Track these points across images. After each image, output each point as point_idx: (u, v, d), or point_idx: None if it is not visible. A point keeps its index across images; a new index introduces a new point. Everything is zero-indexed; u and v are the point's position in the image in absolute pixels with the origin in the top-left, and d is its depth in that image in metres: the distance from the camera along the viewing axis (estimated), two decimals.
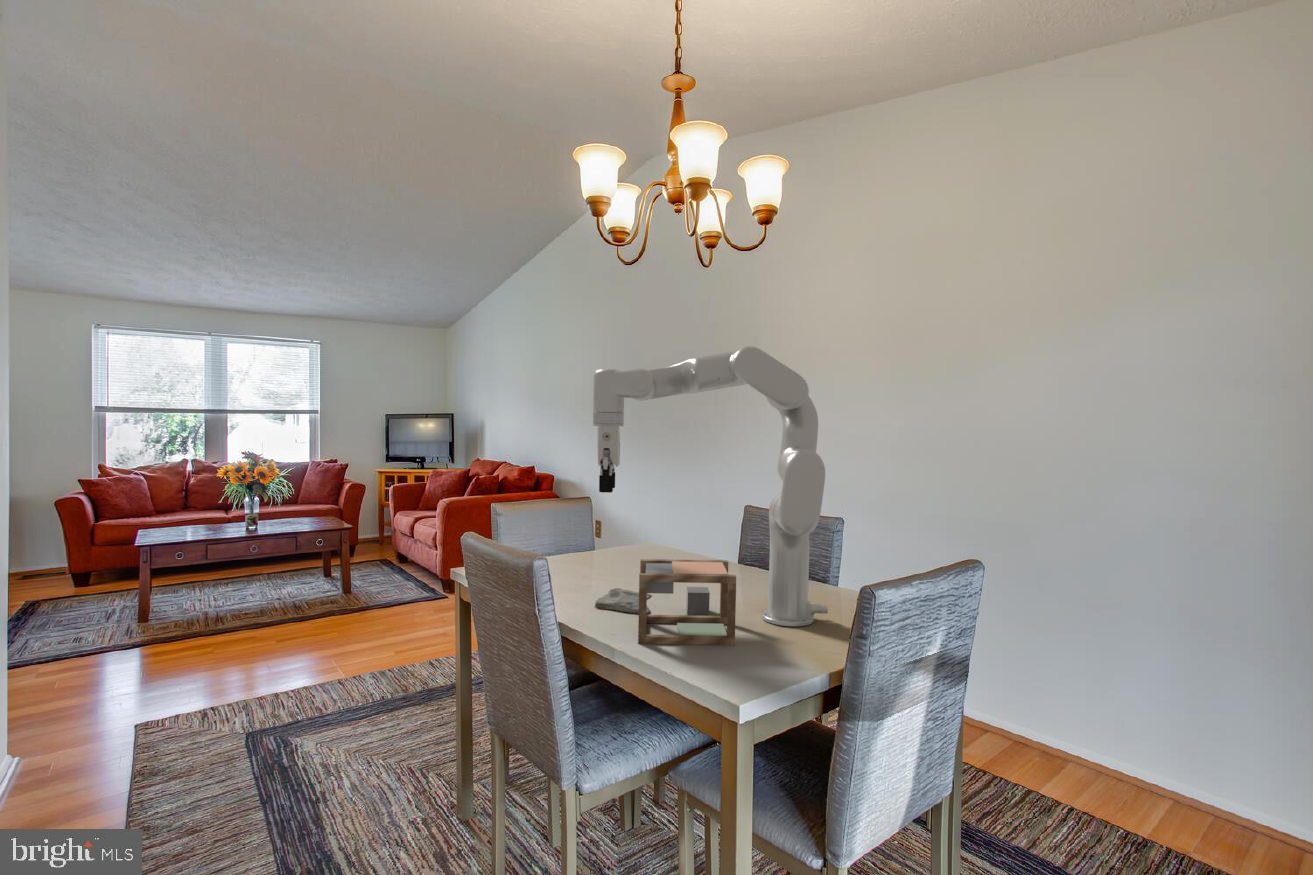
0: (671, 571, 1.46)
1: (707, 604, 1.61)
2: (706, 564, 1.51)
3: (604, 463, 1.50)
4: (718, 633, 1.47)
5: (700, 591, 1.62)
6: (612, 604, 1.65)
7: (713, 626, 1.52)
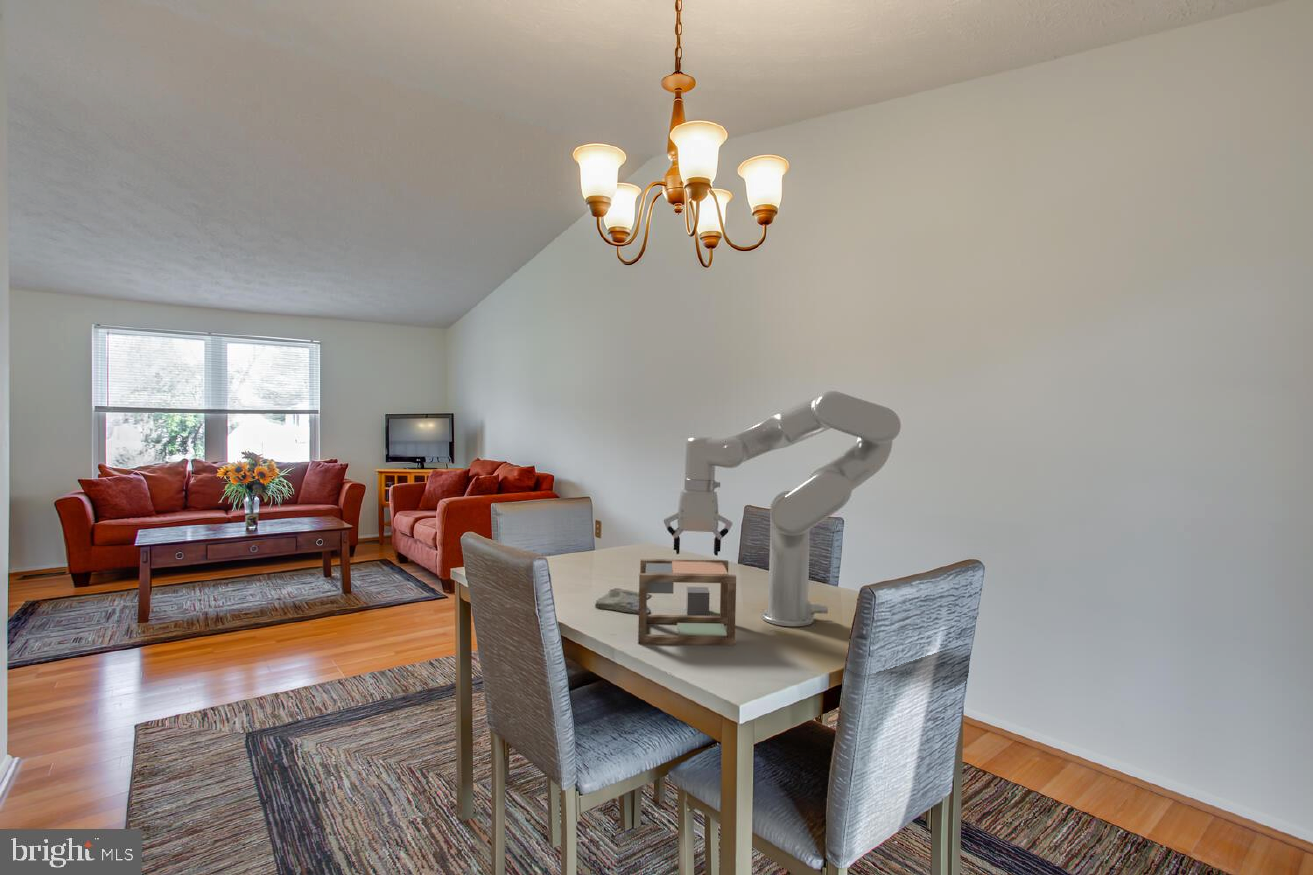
0: (671, 571, 1.46)
1: (707, 604, 1.61)
2: (706, 564, 1.51)
3: None
4: (718, 633, 1.47)
5: (700, 591, 1.62)
6: (612, 604, 1.65)
7: (713, 626, 1.52)
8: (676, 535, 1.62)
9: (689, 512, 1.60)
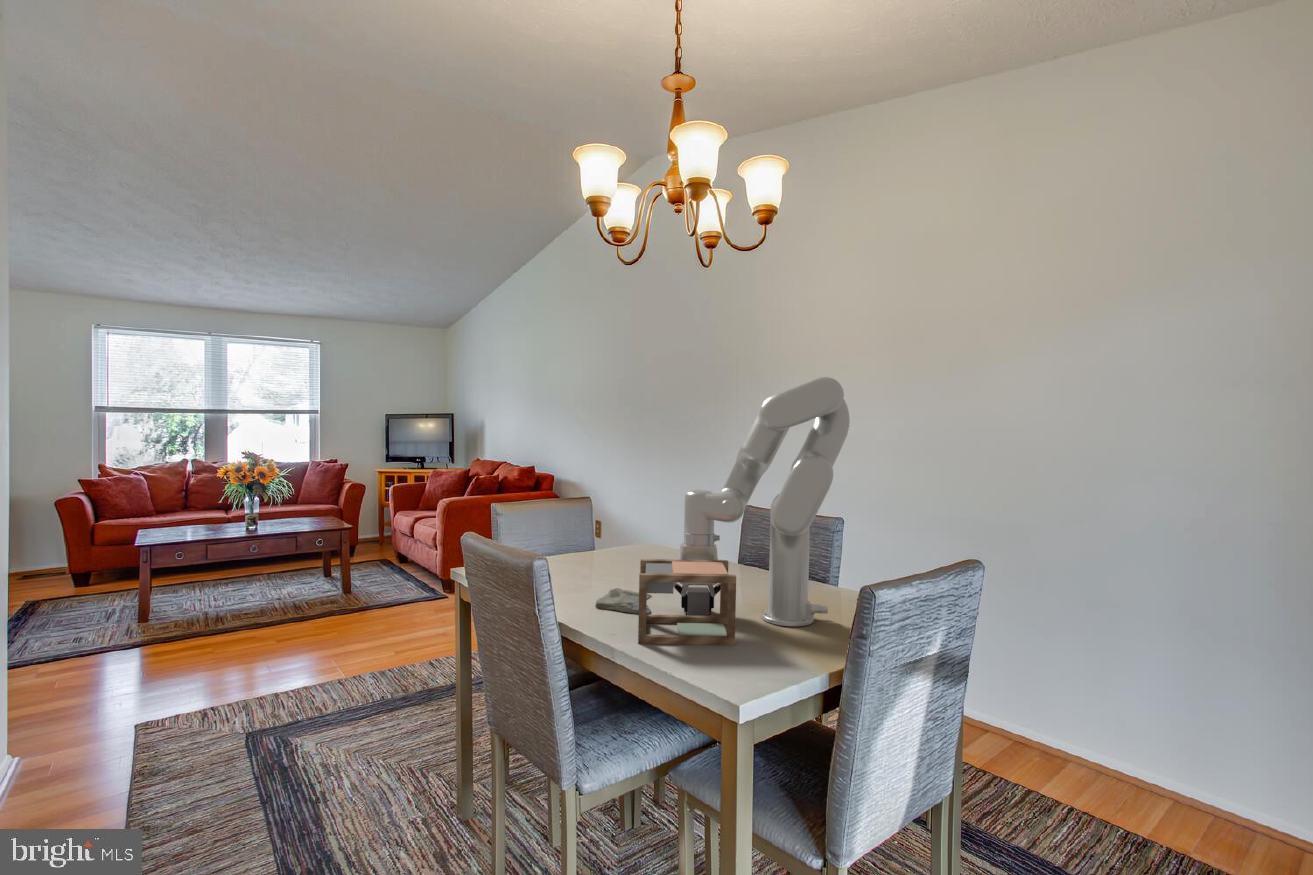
0: (671, 571, 1.46)
1: (707, 604, 1.61)
2: (706, 564, 1.51)
3: None
4: (718, 633, 1.47)
5: (700, 591, 1.62)
6: (613, 604, 1.65)
7: (713, 626, 1.52)
8: (684, 593, 1.62)
9: None
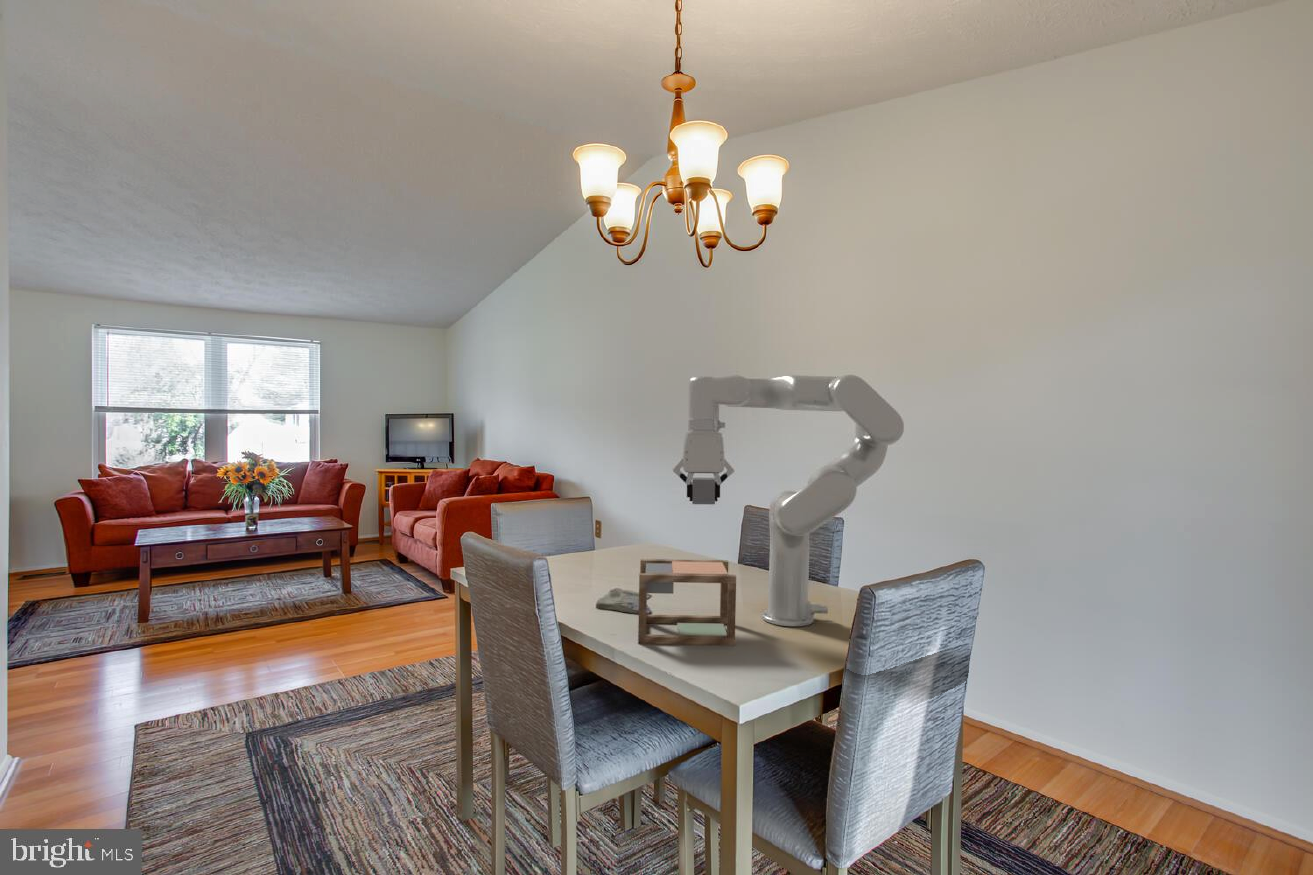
0: (671, 571, 1.46)
1: (713, 491, 1.57)
2: (706, 564, 1.51)
3: (730, 474, 1.59)
4: (718, 633, 1.47)
5: (705, 479, 1.58)
6: (613, 604, 1.65)
7: (713, 626, 1.52)
8: (689, 482, 1.58)
9: (694, 453, 1.57)
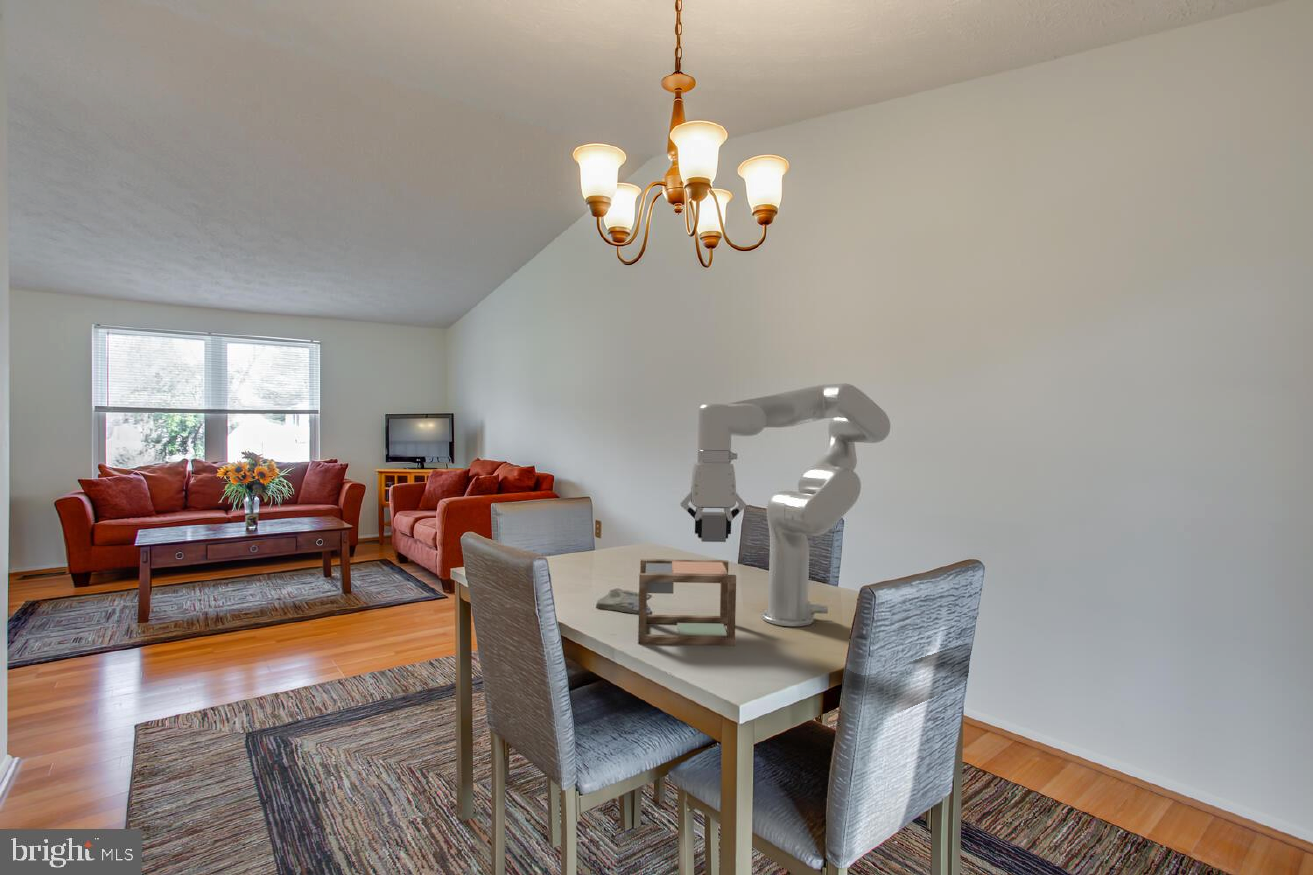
0: (671, 571, 1.46)
1: (724, 528, 1.45)
2: (706, 564, 1.51)
3: None
4: (718, 633, 1.47)
5: (716, 514, 1.46)
6: (613, 605, 1.64)
7: (713, 626, 1.52)
8: (697, 517, 1.47)
9: (704, 487, 1.45)
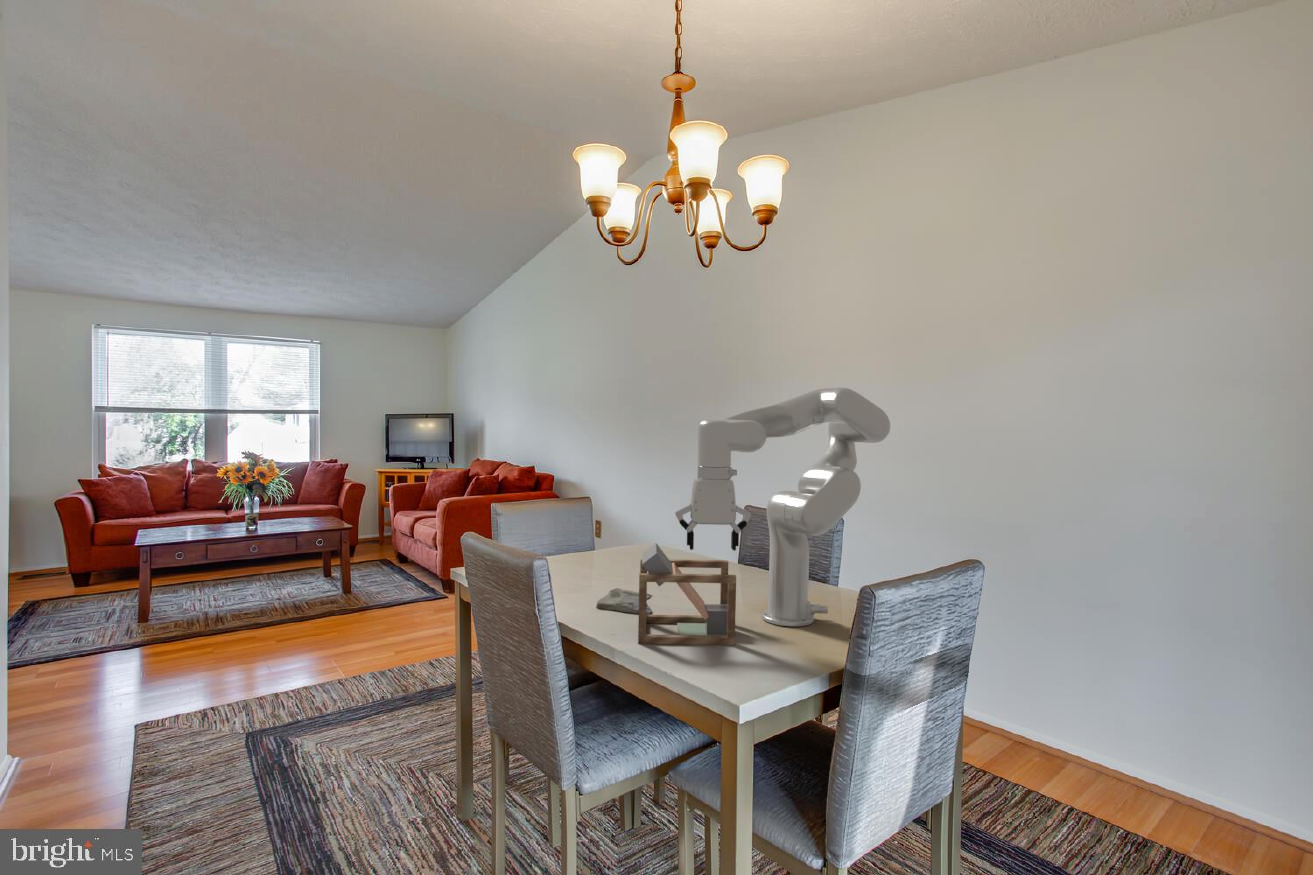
0: (672, 570, 1.46)
1: (720, 632, 1.46)
2: (694, 591, 1.52)
3: None
4: None
5: None
6: (614, 605, 1.64)
7: None
8: (689, 529, 1.47)
9: (703, 503, 1.45)
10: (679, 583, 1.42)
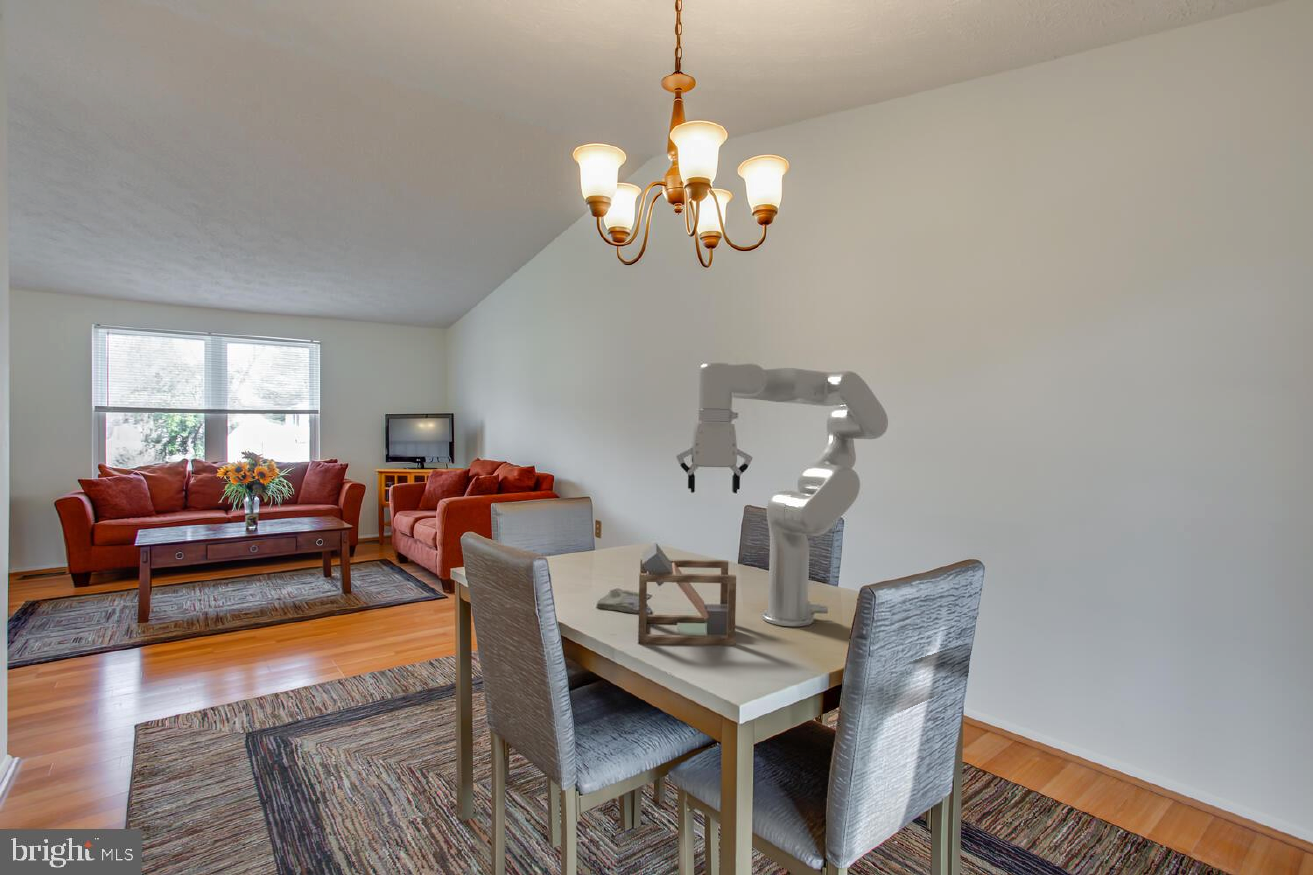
0: (672, 570, 1.46)
1: (720, 632, 1.46)
2: (694, 591, 1.52)
3: None
4: None
5: None
6: (614, 604, 1.64)
7: None
8: (691, 472, 1.47)
9: (705, 445, 1.45)
10: (679, 583, 1.42)
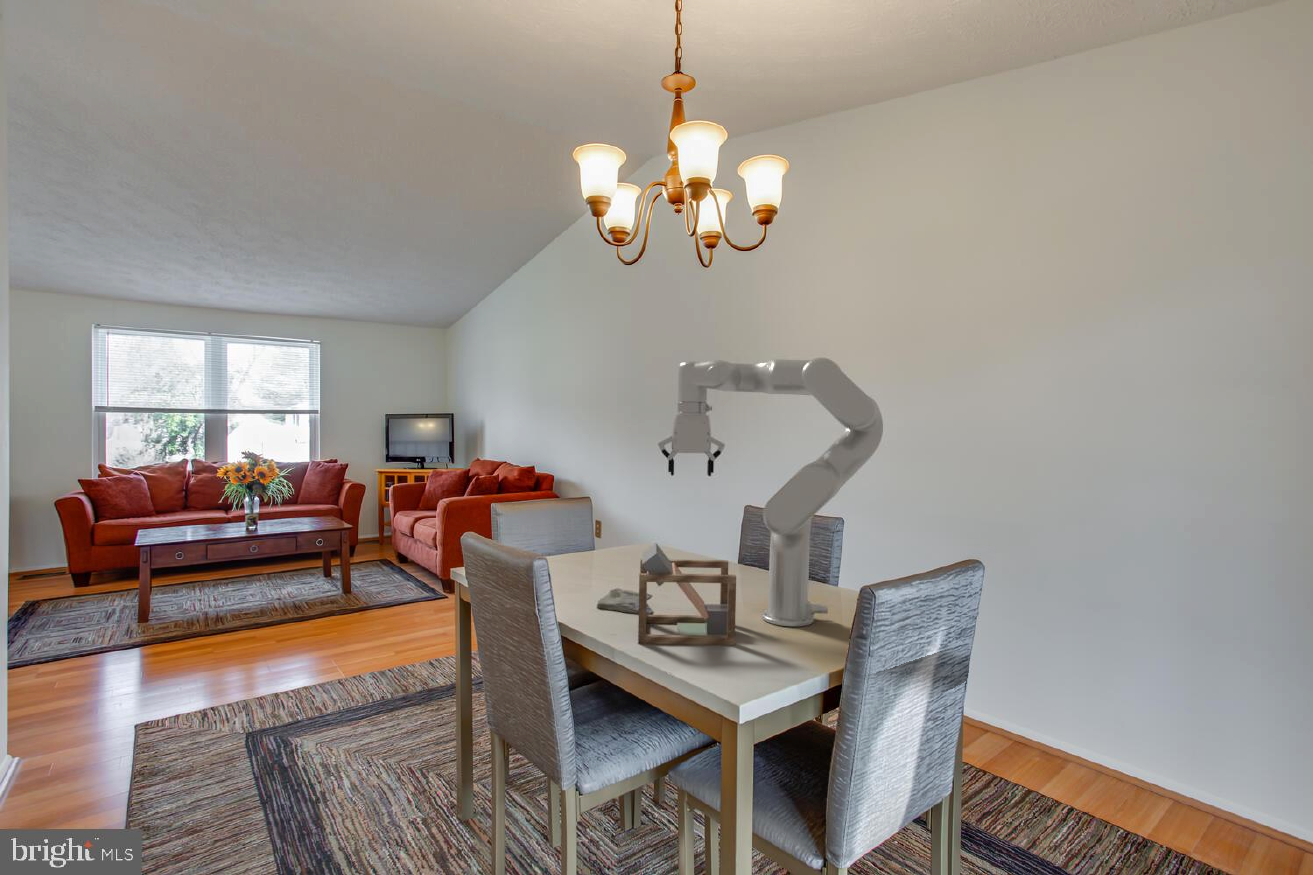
0: (672, 570, 1.46)
1: (720, 632, 1.46)
2: (694, 591, 1.52)
3: (722, 448, 1.68)
4: None
5: None
6: (614, 605, 1.64)
7: None
8: (670, 457, 1.67)
9: (682, 434, 1.66)
10: (679, 583, 1.42)
